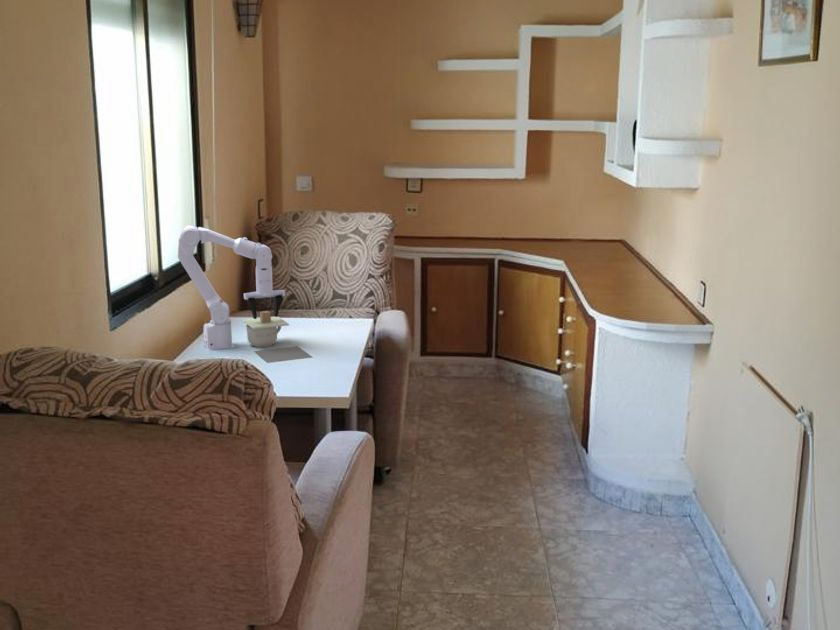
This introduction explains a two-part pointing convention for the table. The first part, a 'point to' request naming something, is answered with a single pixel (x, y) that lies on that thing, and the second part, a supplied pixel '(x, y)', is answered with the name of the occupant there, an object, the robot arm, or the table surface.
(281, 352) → the mat
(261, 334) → the teacup
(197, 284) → the robot arm
